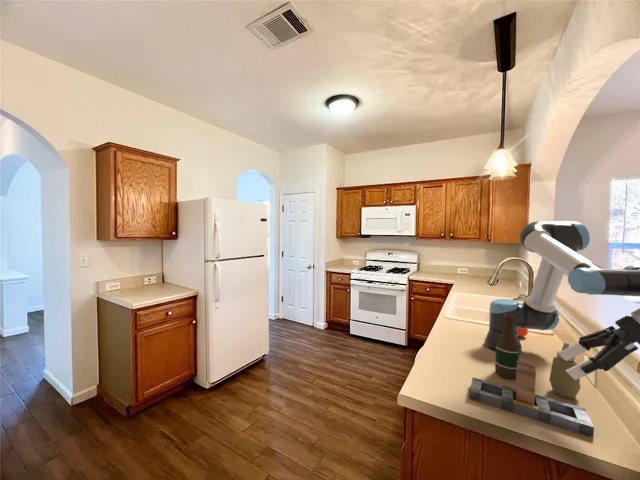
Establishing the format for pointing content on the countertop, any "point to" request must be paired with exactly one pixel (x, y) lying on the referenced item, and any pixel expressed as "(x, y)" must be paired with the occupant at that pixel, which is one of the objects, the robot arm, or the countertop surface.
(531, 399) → the walnut peg
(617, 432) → the countertop surface
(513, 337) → the beer bottle
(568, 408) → the metal rail
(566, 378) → the squeeze bottle
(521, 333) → the clementine
